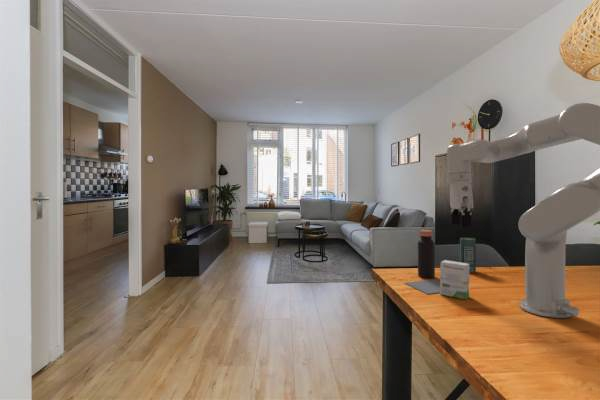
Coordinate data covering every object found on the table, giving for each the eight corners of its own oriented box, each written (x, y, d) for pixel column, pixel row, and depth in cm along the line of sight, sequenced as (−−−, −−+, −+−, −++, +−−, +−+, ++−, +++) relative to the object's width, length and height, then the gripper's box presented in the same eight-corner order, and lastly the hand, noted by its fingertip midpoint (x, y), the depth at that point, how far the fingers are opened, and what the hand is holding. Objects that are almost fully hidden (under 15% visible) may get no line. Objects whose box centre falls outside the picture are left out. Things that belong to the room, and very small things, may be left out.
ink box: (469, 296, 106) (470, 263, 105) (466, 300, 102) (467, 266, 101) (443, 290, 111) (444, 259, 111) (439, 294, 107) (440, 261, 107)
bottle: (426, 279, 127) (425, 232, 127) (414, 275, 133) (414, 230, 133) (438, 277, 130) (438, 231, 129) (426, 273, 136) (426, 229, 136)
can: (473, 269, 141) (473, 237, 141) (476, 272, 136) (476, 239, 135) (459, 268, 144) (459, 237, 143) (461, 271, 138) (461, 239, 138)
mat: (464, 290, 112) (464, 289, 112) (427, 294, 108) (427, 293, 108) (437, 279, 126) (437, 279, 126) (404, 283, 122) (404, 282, 122)
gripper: (481, 176, 101) (482, 227, 101) (461, 179, 118) (462, 223, 118) (457, 177, 102) (458, 227, 102) (441, 180, 119) (442, 223, 119)
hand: (460, 225), depth 110 cm, fingers open, 9 cm apart
